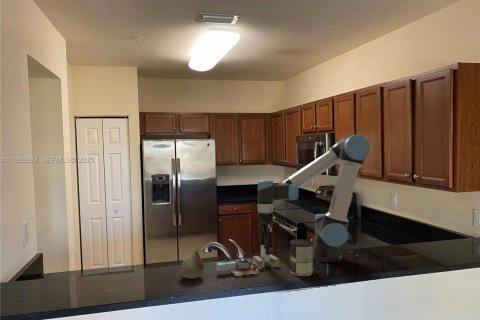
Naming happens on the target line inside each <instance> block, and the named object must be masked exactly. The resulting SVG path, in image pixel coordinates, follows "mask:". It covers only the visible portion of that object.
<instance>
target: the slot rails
mask: <svg viewBox="0 0 480 320" xmlns="http://www.w3.org/2000/svg"><path fill="white" fill-rule="evenodd" d="M253 264H255V265H256V266H257V267H258V268H259V269H260V270H262V269H261V268H264V269H265V267H264V260H263V259H261V256H259V255H253V256H252V265H253ZM269 264H271V265H272V266H273V267H276V268H279V258H278V257H276V256H274V255H273V254H270V261H269ZM271 265H270V266H271ZM272 266H271V267H272ZM257 267H256V268H257ZM273 267H272V268H273ZM258 268H257V269H258ZM259 269H258V270H259Z"/></svg>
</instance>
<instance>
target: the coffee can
mask: <svg viewBox="0 0 480 320" xmlns="http://www.w3.org/2000/svg"><path fill="white" fill-rule="evenodd" d="M289 244H290V270H289V272H290V273H291V274H292V275H294V276H298V277H307V276H311V275H312V274H313V273H314V270H313V267H314V265H313V264H314V263H313V260H314V259H313V248H314V242H313V241H311V240H309V239H305V238H304V239H302V238H301V239H300V238H299V239H292V240H290V243H289Z"/></svg>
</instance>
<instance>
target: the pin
mask: <svg viewBox="0 0 480 320" xmlns="http://www.w3.org/2000/svg"><path fill="white" fill-rule="evenodd" d="M264 247H265V245H262V259H263V260H264ZM268 265H269V261H266V262H264V266H268ZM269 266H270V265H269ZM269 266H268V267H269Z"/></svg>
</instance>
